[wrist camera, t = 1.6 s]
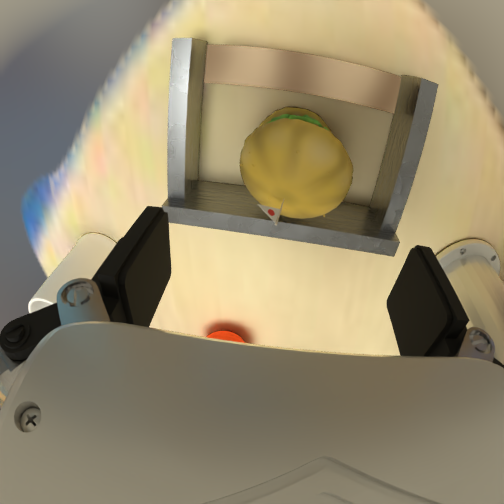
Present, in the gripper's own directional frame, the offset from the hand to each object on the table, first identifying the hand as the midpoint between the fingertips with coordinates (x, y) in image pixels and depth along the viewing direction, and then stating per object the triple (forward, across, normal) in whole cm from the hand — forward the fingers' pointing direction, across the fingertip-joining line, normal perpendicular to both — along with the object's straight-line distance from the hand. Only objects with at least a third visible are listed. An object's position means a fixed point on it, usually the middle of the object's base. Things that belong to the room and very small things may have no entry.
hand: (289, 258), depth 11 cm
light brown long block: (+18, -1, -6) cm, 19 cm away
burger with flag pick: (+18, -1, 0) cm, 18 cm away
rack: (+18, -1, -1) cm, 18 cm away
